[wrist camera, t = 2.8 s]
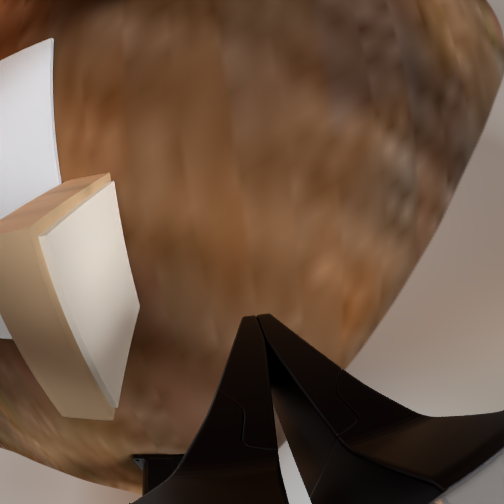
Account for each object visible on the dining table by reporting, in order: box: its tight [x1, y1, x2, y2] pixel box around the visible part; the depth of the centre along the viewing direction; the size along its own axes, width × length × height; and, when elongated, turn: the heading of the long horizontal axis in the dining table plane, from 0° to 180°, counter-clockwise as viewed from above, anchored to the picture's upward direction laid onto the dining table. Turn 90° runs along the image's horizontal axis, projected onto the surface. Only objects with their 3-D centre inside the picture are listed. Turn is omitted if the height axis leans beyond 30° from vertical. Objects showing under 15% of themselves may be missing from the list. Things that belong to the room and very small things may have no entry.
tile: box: [0, 173, 140, 420], centre depth 11 cm, size 8×3×8 cm, turn 2°
